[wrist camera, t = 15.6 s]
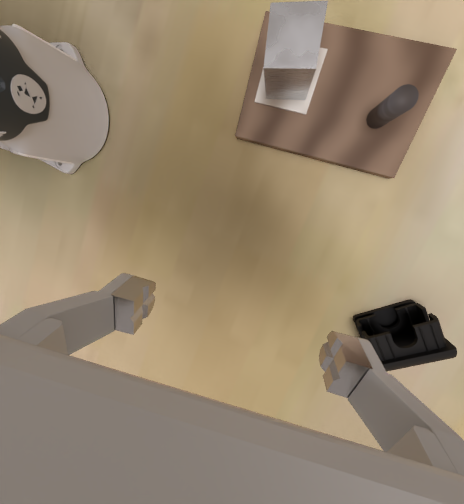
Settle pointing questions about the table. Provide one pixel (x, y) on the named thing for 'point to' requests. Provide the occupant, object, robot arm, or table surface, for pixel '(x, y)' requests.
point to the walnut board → (349, 100)
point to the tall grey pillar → (292, 48)
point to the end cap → (404, 335)
